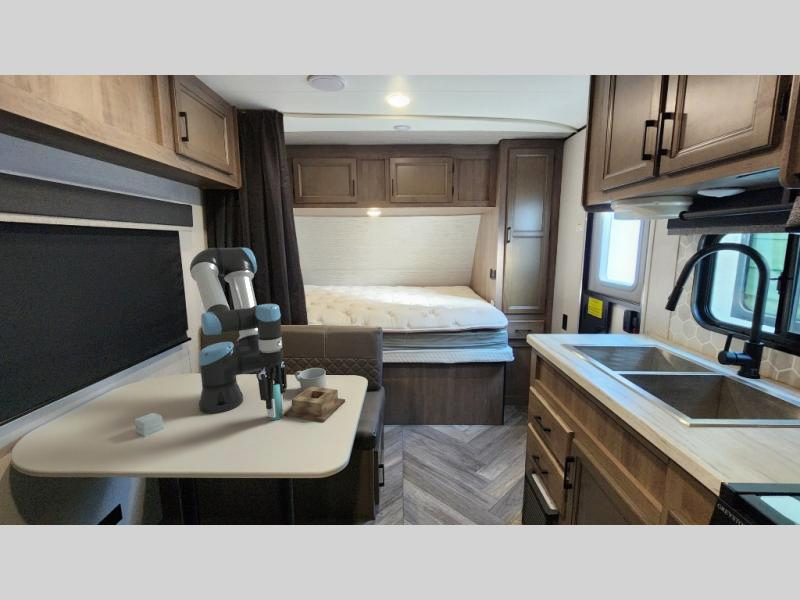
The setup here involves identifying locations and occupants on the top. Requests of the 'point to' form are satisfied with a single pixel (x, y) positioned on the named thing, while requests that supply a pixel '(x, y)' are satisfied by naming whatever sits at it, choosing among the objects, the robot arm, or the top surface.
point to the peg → (277, 402)
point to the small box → (148, 424)
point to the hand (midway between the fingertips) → (275, 413)
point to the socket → (315, 404)
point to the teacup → (311, 378)
